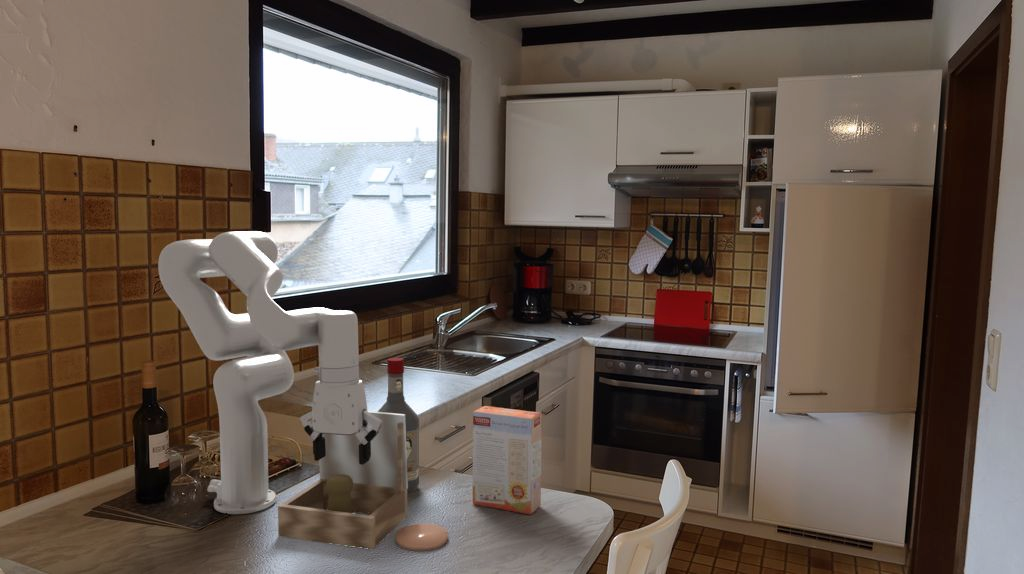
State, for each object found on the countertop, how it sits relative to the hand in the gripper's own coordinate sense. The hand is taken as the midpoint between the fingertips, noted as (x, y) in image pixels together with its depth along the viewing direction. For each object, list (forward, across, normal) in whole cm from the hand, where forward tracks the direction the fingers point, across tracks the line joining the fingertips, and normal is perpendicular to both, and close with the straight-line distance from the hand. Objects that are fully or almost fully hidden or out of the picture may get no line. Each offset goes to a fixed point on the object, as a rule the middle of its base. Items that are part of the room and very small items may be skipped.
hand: (342, 460), depth 143 cm
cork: (+14, -1, 0) cm, 15 cm away
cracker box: (+15, +27, +22) cm, 38 cm away
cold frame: (+14, -1, +2) cm, 14 cm away
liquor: (+14, 0, +24) cm, 28 cm away
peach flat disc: (+15, +16, +1) cm, 22 cm away
